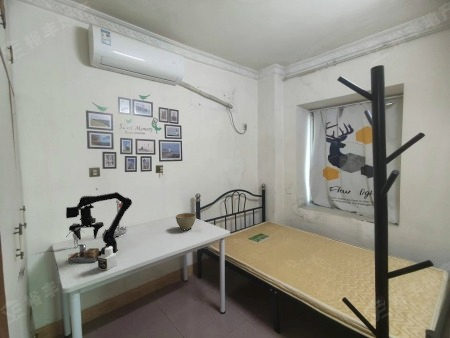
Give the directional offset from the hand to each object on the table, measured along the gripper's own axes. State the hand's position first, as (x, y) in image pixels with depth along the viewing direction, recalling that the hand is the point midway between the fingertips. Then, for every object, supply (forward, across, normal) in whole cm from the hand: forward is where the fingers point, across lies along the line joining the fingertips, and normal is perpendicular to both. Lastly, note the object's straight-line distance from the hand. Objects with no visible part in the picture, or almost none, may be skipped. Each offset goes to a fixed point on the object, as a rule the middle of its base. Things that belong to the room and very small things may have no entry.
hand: (87, 239), depth 143 cm
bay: (+12, +1, -1) cm, 12 cm away
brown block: (+12, -2, +2) cm, 12 cm away
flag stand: (+13, -4, -43) cm, 45 cm away
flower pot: (+14, -60, -49) cm, 79 cm away
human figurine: (+12, +18, -20) cm, 29 cm away
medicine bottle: (+12, -18, +16) cm, 27 cm away
